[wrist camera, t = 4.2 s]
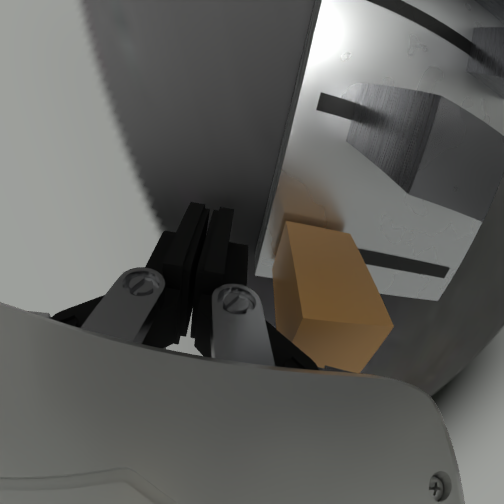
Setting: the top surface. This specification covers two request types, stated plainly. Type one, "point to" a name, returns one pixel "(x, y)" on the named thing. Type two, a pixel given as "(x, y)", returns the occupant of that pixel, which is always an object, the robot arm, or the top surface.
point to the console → (394, 136)
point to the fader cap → (327, 298)
